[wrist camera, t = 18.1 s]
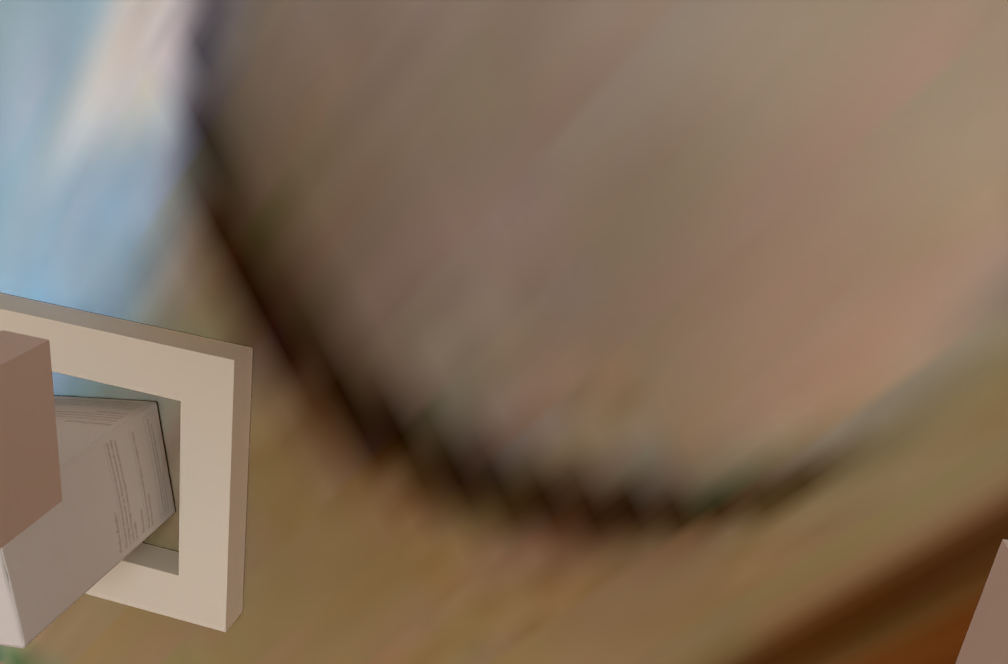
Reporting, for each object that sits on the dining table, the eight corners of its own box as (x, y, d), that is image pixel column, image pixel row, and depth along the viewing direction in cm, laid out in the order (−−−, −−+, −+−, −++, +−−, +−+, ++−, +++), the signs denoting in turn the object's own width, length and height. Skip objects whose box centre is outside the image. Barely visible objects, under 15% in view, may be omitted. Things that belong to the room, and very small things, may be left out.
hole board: (-24, 287, 51) (-52, 297, 49) (253, 347, 48) (234, 360, 47) (-7, 544, 57) (-31, 561, 55) (242, 611, 54) (225, 632, 52)
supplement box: (46, 391, 52) (-148, 494, 41) (160, 399, 51) (-8, 509, 39) (68, 505, 55) (-109, 634, 43) (179, 516, 53) (25, 653, 41)
